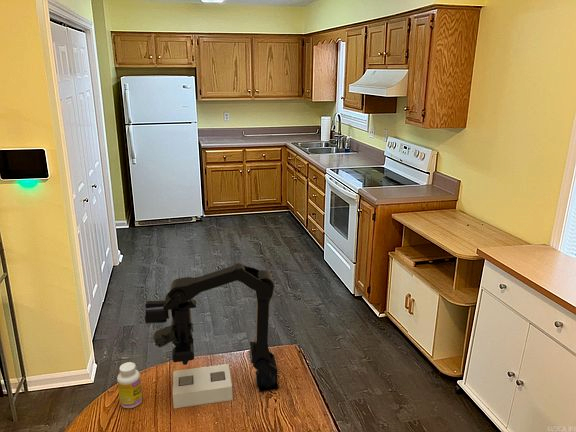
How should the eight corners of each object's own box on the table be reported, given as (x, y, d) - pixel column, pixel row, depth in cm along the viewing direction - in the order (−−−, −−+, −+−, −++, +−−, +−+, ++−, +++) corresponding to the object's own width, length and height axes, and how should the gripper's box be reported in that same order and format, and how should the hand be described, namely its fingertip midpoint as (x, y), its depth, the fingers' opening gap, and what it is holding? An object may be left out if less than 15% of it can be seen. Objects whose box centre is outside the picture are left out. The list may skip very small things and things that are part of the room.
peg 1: (193, 388, 147) (192, 375, 146) (193, 396, 144) (192, 383, 142) (180, 390, 147) (179, 377, 145) (180, 398, 143) (179, 385, 141)
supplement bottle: (135, 410, 138) (131, 374, 134) (116, 407, 139) (111, 372, 135) (146, 396, 144) (142, 361, 140) (127, 393, 145) (123, 359, 142)
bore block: (229, 376, 154) (228, 363, 152) (232, 399, 142) (232, 386, 141) (174, 383, 150) (173, 370, 148) (173, 408, 139) (172, 394, 137)
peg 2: (224, 384, 149) (223, 371, 148) (225, 392, 146) (224, 379, 144) (211, 386, 149) (211, 373, 147) (212, 394, 145) (211, 380, 143)
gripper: (156, 308, 145) (160, 350, 149) (152, 339, 127) (157, 386, 132) (191, 304, 147) (194, 346, 152) (192, 335, 130) (195, 381, 134)
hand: (185, 364), depth 142 cm, fingers closed
